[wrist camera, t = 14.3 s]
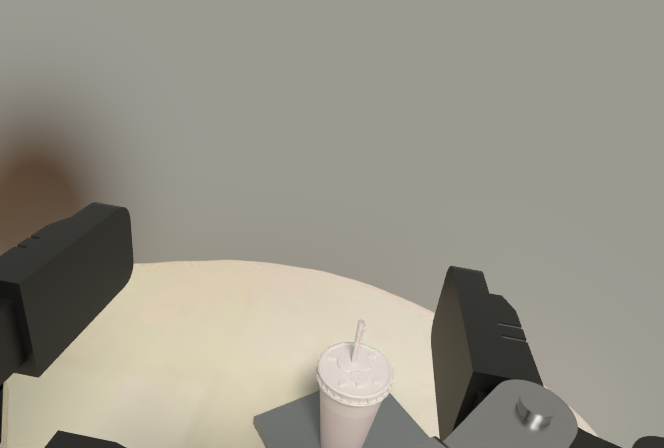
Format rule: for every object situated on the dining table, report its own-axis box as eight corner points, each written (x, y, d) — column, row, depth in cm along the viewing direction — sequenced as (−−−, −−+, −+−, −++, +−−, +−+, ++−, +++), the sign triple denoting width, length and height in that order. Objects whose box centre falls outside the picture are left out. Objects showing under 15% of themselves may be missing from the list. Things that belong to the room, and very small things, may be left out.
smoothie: (365, 414, 47) (390, 300, 40) (383, 474, 41) (415, 353, 35) (301, 419, 45) (317, 302, 39) (311, 482, 40) (331, 357, 33)
